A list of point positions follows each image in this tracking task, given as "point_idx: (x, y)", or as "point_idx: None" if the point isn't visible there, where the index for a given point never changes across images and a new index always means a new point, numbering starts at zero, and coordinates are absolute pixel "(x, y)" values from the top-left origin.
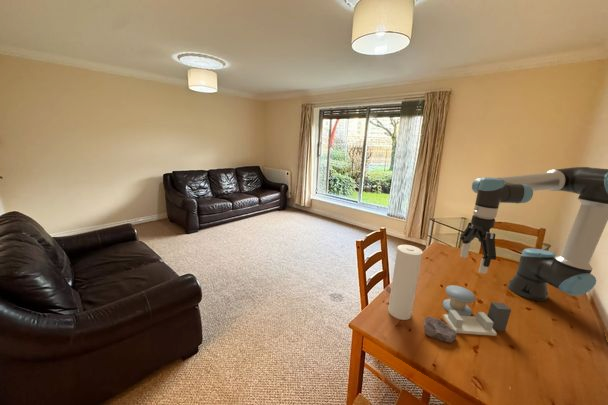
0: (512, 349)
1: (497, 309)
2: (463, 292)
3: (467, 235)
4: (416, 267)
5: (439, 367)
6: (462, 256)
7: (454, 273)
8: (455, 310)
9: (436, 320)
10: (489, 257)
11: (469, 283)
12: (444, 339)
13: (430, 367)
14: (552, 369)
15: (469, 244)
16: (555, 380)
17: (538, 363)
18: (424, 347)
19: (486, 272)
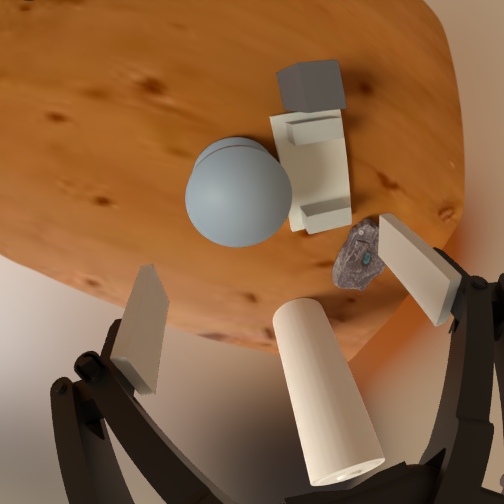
0: (374, 93)
1: (342, 108)
2: (234, 187)
3: (96, 449)
4: (371, 423)
5: None
6: (165, 297)
7: (6, 149)
8: (308, 216)
9: (355, 270)
10: (502, 321)
11: (45, 105)
12: None
13: None
14: (407, 46)
15: (130, 359)
16: (430, 65)
17: (400, 63)
18: (390, 278)
19: (394, 219)
